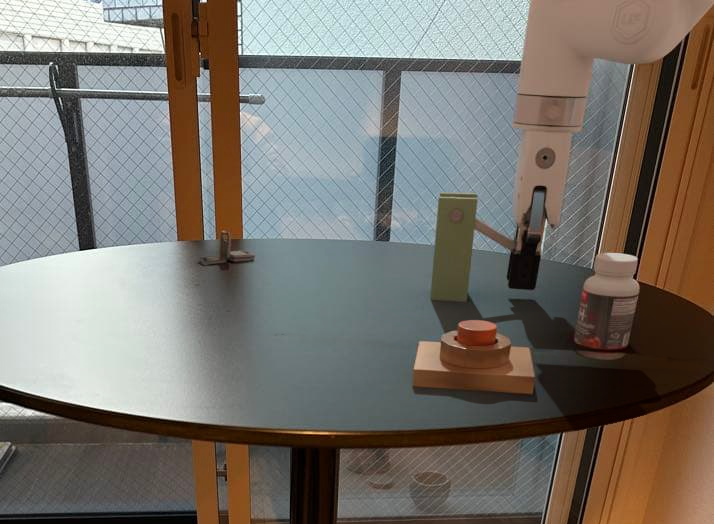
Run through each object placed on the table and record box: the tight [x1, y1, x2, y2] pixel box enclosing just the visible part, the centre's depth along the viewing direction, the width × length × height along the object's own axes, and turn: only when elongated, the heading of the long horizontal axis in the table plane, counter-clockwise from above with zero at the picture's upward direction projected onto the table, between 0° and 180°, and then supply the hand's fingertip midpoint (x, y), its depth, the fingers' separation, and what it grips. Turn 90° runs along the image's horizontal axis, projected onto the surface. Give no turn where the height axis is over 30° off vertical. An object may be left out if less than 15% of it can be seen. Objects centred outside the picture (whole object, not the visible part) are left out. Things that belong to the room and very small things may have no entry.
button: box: [456, 319, 498, 346], centre depth 76 cm, size 4×4×2 cm
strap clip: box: [197, 230, 256, 265], centre depth 121 cm, size 8×3×4 cm, turn 118°
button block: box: [411, 329, 536, 395], centre depth 77 cm, size 11×9×4 cm
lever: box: [452, 195, 543, 262], centre depth 95 cm, size 13×3×3 cm, turn 80°
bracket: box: [429, 191, 479, 303], centre depth 97 cm, size 12×9×13 cm
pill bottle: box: [573, 252, 641, 361], centre depth 82 cm, size 5×5×10 cm
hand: (520, 283), depth 98 cm, fingers closed on lever, 3 cm apart
